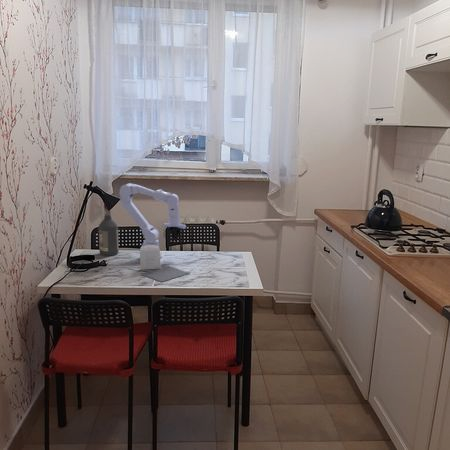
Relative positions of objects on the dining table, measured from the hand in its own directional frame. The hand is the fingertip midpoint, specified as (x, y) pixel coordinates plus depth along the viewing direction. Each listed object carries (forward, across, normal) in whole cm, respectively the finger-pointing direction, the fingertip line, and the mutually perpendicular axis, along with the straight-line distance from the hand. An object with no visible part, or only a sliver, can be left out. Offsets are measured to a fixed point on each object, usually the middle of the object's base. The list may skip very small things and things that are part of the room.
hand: (175, 240), depth 244 cm
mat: (+10, +13, -24) cm, 30 cm away
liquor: (+8, -37, -17) cm, 41 cm away
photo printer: (+10, +2, -23) cm, 25 cm away
